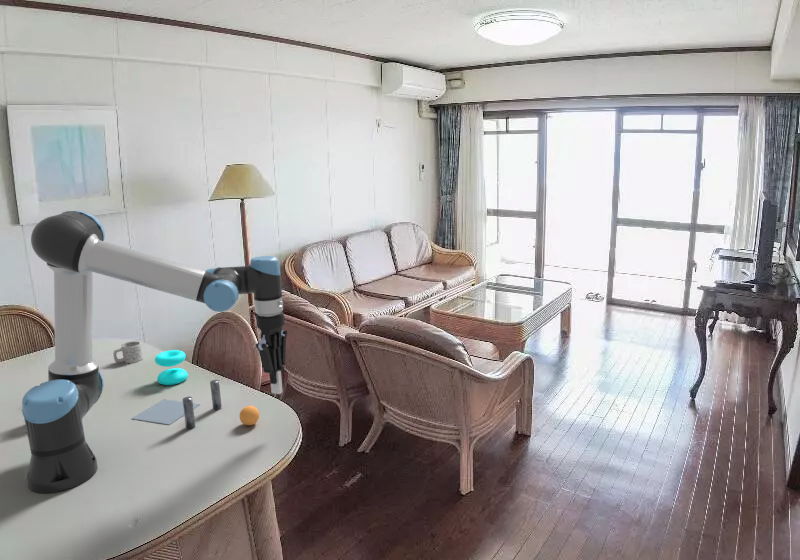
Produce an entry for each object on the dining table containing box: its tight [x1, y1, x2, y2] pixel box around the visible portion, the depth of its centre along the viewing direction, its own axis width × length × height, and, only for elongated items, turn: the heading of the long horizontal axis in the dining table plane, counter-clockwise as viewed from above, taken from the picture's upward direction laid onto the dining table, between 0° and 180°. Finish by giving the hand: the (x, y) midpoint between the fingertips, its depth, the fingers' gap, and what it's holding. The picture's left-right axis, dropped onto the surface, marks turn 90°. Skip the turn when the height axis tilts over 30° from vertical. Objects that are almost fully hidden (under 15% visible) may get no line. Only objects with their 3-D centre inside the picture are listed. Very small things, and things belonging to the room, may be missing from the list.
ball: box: [239, 405, 260, 426], centre depth 168 cm, size 6×6×6 cm
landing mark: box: [130, 398, 201, 426], centre depth 178 cm, size 14×14×1 cm
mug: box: [113, 340, 144, 364], centre depth 221 cm, size 10×7×7 cm
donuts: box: [154, 349, 189, 386], centre depth 201 cm, size 10×10×10 cm
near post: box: [182, 396, 196, 430], centre depth 167 cm, size 3×3×9 cm
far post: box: [209, 379, 223, 411], centre depth 178 cm, size 3×3×9 cm
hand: (277, 392), depth 163 cm, fingers closed
